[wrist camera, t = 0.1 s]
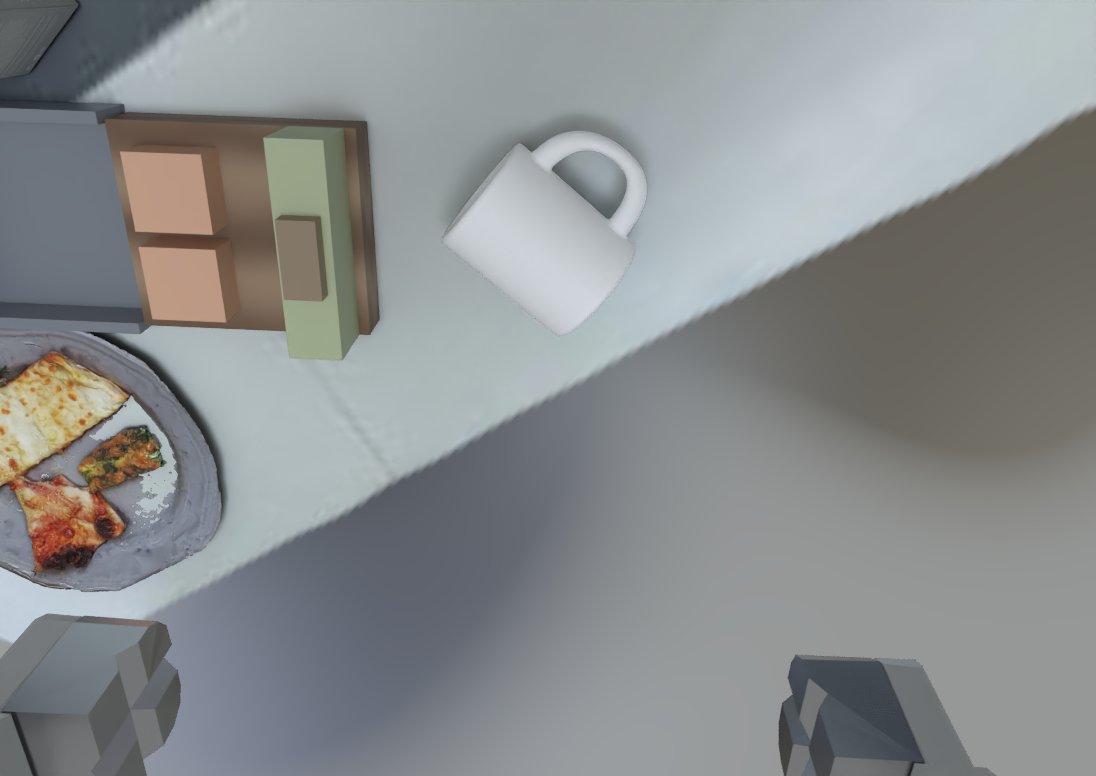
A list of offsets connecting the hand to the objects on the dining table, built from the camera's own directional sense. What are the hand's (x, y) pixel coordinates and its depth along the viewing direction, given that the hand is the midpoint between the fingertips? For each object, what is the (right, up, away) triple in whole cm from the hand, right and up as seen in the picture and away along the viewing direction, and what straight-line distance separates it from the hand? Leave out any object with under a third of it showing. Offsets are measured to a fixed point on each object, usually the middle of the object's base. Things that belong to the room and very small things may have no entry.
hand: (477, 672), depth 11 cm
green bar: (-14, +14, +44) cm, 48 cm away
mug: (+2, +16, +46) cm, 48 cm away
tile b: (-23, +12, +45) cm, 52 cm away
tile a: (-23, +17, +43) cm, 51 cm away
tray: (-34, +16, +47) cm, 60 cm away
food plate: (-38, -2, +56) cm, 68 cm away
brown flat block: (-19, +15, +47) cm, 53 cm away
